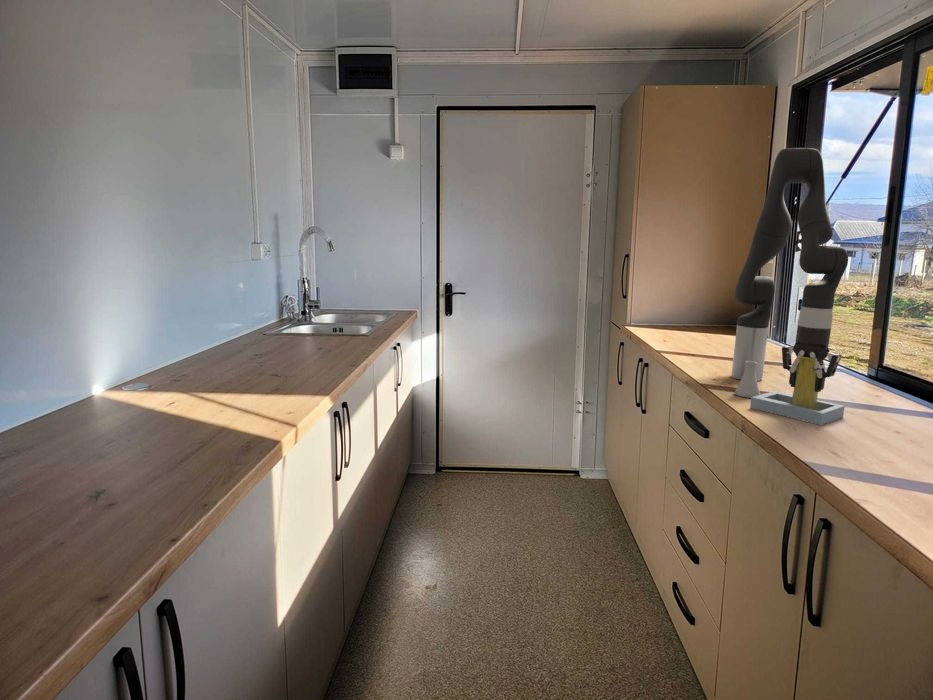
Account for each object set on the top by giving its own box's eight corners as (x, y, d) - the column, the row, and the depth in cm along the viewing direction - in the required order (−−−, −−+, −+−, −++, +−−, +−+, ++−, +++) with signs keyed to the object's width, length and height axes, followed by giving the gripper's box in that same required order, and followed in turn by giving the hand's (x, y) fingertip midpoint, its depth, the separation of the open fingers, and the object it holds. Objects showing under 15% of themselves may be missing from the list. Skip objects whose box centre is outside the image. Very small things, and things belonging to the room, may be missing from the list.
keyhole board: (773, 401, 174) (775, 390, 173) (843, 417, 160) (844, 405, 159) (750, 407, 166) (751, 397, 165) (820, 425, 152) (822, 413, 152)
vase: (806, 413, 158) (814, 359, 155) (784, 407, 163) (791, 354, 160) (821, 411, 160) (829, 357, 158) (799, 405, 166) (806, 353, 163)
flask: (763, 399, 175) (767, 365, 173) (736, 397, 177) (740, 363, 175) (757, 393, 182) (761, 360, 180) (731, 391, 184) (735, 358, 182)
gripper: (851, 327, 154) (841, 393, 158) (792, 320, 165) (784, 381, 169) (838, 330, 150) (828, 397, 153) (779, 322, 161) (770, 385, 164)
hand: (805, 388), depth 161 cm, fingers closed on vase, 5 cm apart
